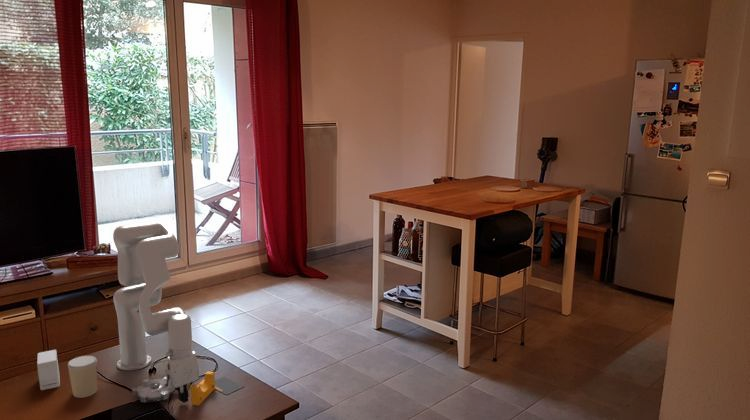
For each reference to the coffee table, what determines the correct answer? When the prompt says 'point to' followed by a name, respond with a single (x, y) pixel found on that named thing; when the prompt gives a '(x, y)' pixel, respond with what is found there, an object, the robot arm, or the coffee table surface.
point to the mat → (226, 385)
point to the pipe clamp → (203, 388)
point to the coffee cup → (83, 376)
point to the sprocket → (152, 390)
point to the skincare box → (48, 370)
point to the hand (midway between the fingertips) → (183, 400)
